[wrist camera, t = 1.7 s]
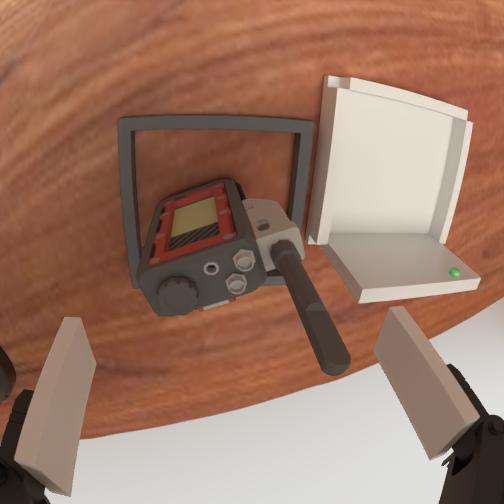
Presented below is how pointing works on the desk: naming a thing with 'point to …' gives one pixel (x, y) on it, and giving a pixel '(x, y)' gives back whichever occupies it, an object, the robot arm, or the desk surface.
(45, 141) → the desk surface
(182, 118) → the grey square frame
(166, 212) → the walkie-talkie
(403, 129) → the dock
